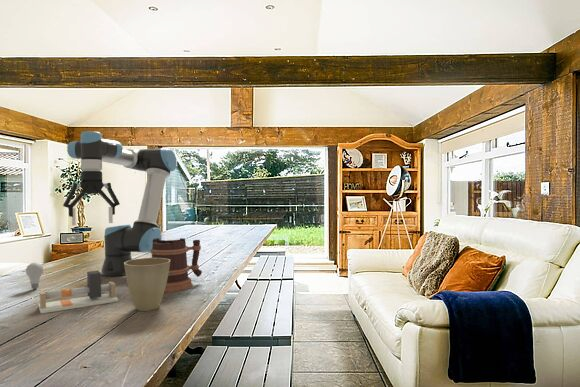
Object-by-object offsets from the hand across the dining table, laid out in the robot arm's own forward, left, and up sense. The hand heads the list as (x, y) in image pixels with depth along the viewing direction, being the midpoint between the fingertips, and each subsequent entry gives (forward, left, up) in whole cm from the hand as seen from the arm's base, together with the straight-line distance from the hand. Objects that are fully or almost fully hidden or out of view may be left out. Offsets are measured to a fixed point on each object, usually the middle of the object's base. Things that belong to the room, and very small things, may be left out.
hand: (92, 224), depth 162 cm
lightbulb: (+19, -18, -27) cm, 38 cm away
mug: (-29, +12, -27) cm, 41 cm away
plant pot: (-11, +37, -27) cm, 47 cm away
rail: (+8, +17, -27) cm, 32 cm away
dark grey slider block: (+2, +17, -25) cm, 30 cm away
